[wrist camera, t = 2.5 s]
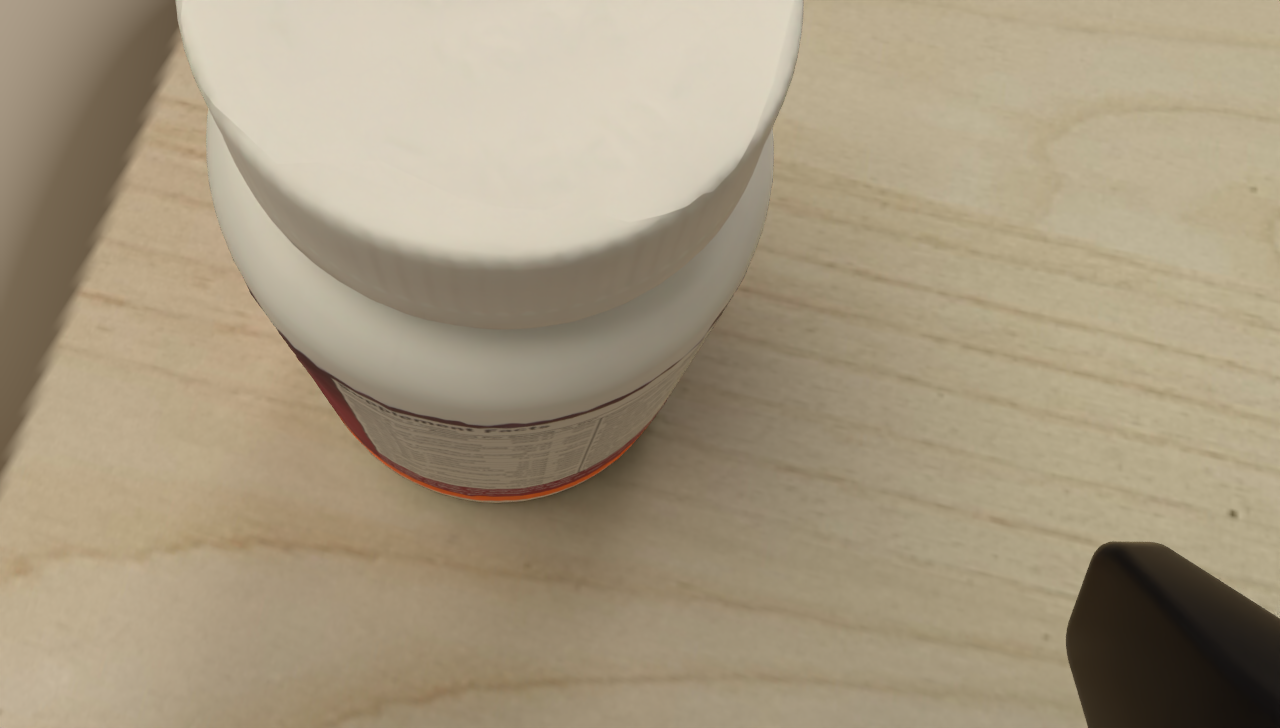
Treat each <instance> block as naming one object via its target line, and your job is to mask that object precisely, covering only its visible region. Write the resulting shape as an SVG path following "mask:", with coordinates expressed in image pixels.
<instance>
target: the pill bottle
mask: <svg viewBox="0 0 1280 728" xmlns="http://www.w3.org/2000/svg"><path fill="white" fill-rule="evenodd" d="M803 6H804V2H803V0H176V7H177V16H178V23H179V27H180V32H181V37H182V41H183V46H184V51H185V53H186V56H187V59H188V62H189V65H190V68H191V71H192V73H193V76H194V79H195V81H196V83H197V86H198V88H199V90H200V92H201V94H202V96H203V98H204V100H205V102H206V104H207V106H208V108H209V110H208V115H207V131H206V150H207V168H208V177H209V185H210V190H211V194H212V199H213V204H214V208H215V212H216V215H217V219H218V222H219V225H220V228H221V231H222V233H223V236H224V238H225V241H226V243H227V246H228V248H229V250H230V253H231V255H232V258H233V260H234V262H235V264H236V266H237V267H238V269H239V271H240V273H241V274H242V276H243V278H244V280H245V282H246V284H247V286H248V288H249V291H250V293H251V295H252V296H253V297H254V299H255V300H256V301H257V303H258V304H259V306H260V307H261V308H262V309H263V311H264V312H265V314H266V315H267V316H268V318H269V319H270V321H271V322H272V323H273V325H274V326H275V327H276V329H277V330H278V332H279V333H280V335H281V336H282V337H283V339H284V340H285V341H286V343H287V344H288V346H289V347H290V348H291V350H292V351H293V352H294V353H295V354H296V356H297V358H298V360H299V361H300V362H301V363H302V365H303V366H304V367H305V369H306V370H307V371H308V373H309V374H310V375H311V376H312V378H313V379H314V381H315V382H316V384H317V385H318V387H319V388H320V390H321V391H322V392H323V394H324V395H325V397H326V398H327V400H328V401H329V403H330V404H331V405H332V407H333V408H334V410H335V411H336V413H337V414H338V415H339V417H340V418H341V420H342V421H343V423H344V424H345V425H346V426H347V428H348V429H349V430H350V431H351V433H352V434H353V435H354V436H355V437H356V438H357V439H358V440H359V441H360V442H361V444H363V445H364V446H365V447H366V448H367V449H368V450H369V451H370V452H371V453H372V454H373V455H374V456H375V457H376V458H377V459H378V460H380V461H381V462H382V463H383V464H385V465H386V466H387V467H389V468H390V469H392V470H393V471H395V472H396V473H398V474H399V475H401V476H402V477H404V478H406V479H408V480H410V481H412V482H414V483H416V484H418V485H420V486H422V487H424V488H427V489H430V490H432V491H435V492H437V493H440V494H444V495H448V496H451V497H455V498H459V499H464V500H469V501H477V502H491V503H501V502H518V501H526V500H531V499H536V498H540V497H545V496H549V495H552V494H556V493H559V492H561V491H564V490H566V489H569V488H571V487H573V486H576V485H578V484H580V483H582V482H584V481H586V480H587V479H589V478H591V477H593V476H594V475H596V474H598V473H599V472H601V471H602V470H604V469H605V468H606V467H608V466H609V465H610V464H612V463H613V462H614V461H616V460H617V459H618V458H619V457H620V456H621V455H622V454H623V453H624V452H625V451H626V450H627V449H628V448H629V447H630V446H631V445H632V444H633V443H634V442H635V441H636V440H637V438H638V437H639V436H640V435H641V434H642V432H643V431H644V430H645V429H646V428H647V427H648V425H649V424H650V423H651V421H652V420H653V419H654V418H655V416H656V415H657V413H658V412H659V410H660V409H661V408H662V406H663V405H664V404H665V402H666V401H667V399H668V397H669V396H670V394H671V392H672V390H673V389H674V387H675V386H676V384H677V383H678V381H679V380H680V378H681V377H682V375H683V373H684V372H685V370H686V369H687V367H688V366H689V364H690V363H691V361H692V360H693V358H694V356H695V355H696V353H697V352H698V350H699V349H700V347H701V345H702V344H703V342H704V341H705V339H706V338H707V336H708V335H709V333H710V332H711V330H712V329H713V327H714V325H715V324H716V322H717V321H718V319H719V318H720V316H721V315H722V313H723V311H724V310H725V308H726V307H727V305H728V303H729V301H730V300H731V298H732V297H733V295H734V293H735V292H736V290H737V289H738V287H739V285H740V284H741V282H742V280H743V278H744V276H745V274H746V272H747V269H748V266H749V263H750V261H751V259H752V257H753V255H754V252H755V250H756V247H757V244H758V241H759V239H760V236H761V233H762V230H763V227H764V223H765V219H766V215H767V210H768V205H769V200H770V194H771V188H772V182H773V166H774V141H773V129H772V127H773V125H774V123H775V120H776V118H777V116H778V113H779V111H780V109H781V107H782V104H783V102H784V99H785V96H786V94H787V91H788V88H789V86H790V83H791V80H792V77H793V73H794V69H795V65H796V61H797V58H798V51H799V45H800V39H801V33H802V24H803Z"/></svg>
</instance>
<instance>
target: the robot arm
mask: <svg viewBox="0 0 1280 728" xmlns="http://www.w3.org/2000/svg"><path fill="white" fill-rule="evenodd" d="M1066 649H1067V656H1068V660H1069V664H1070V668H1071V671H1072V674H1073V678H1074V681H1075V684H1076V688H1077V691H1078V695H1079V698H1080V701H1081V705H1082V708H1083V711H1084V715H1085V718H1086V721H1087V725H1088V728H1280V618H1278V617H1276V616H1275V615H1273V614H1272V613H1270V612H1268V611H1267V610H1265V609H1264V608H1262V607H1261V606H1259V605H1257V604H1256V603H1254V602H1253V601H1251V600H1250V599H1248V598H1246V597H1245V596H1243V595H1242V594H1240V593H1239V592H1237V591H1235V590H1234V589H1232V588H1231V587H1229V586H1228V585H1226V584H1224V583H1223V582H1221V581H1220V580H1218V579H1217V578H1215V577H1213V576H1212V575H1210V574H1209V573H1207V572H1206V571H1204V570H1202V569H1201V568H1199V567H1198V566H1196V565H1195V564H1193V563H1191V562H1190V561H1188V560H1187V559H1185V558H1184V557H1182V556H1180V555H1179V554H1177V553H1176V552H1174V551H1173V550H1171V549H1169V548H1168V547H1166V546H1164V545H1162V544H1159V543H1154V542H1108V543H1106V544H1103V545H1101V546H1100V547H1099V548H1098V549H1097V550H1096V552H1095V553H1094V555H1093V557H1092V559H1091V562H1090V564H1089V567H1088V570H1087V573H1086V575H1085V578H1084V581H1083V584H1082V586H1081V589H1080V592H1079V595H1078V598H1077V600H1076V603H1075V606H1074V609H1073V611H1072V614H1071V617H1070V620H1069V623H1068V627H1067V633H1066Z"/></svg>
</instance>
